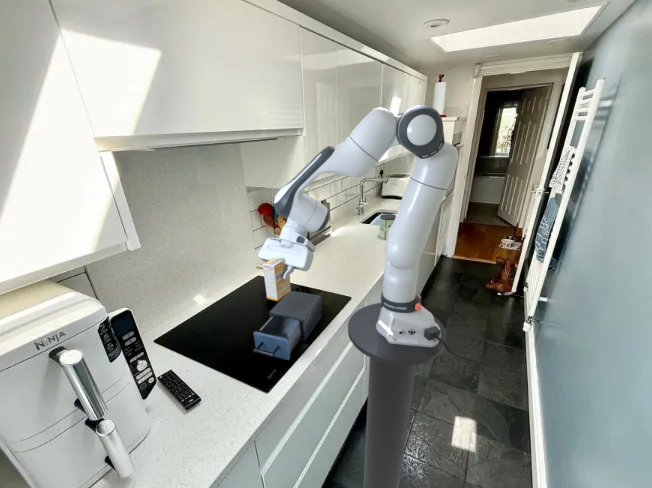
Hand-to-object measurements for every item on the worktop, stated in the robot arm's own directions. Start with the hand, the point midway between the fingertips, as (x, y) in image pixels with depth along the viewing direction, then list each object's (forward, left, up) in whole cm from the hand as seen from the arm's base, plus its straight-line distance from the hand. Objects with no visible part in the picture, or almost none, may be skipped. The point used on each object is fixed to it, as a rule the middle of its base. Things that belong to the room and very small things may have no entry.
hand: (276, 277), depth 103 cm
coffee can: (-17, -116, -24) cm, 119 cm away
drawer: (-3, +7, -23) cm, 24 cm away
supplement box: (0, -1, -7) cm, 7 cm away
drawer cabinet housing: (-3, -8, -24) cm, 26 cm away
